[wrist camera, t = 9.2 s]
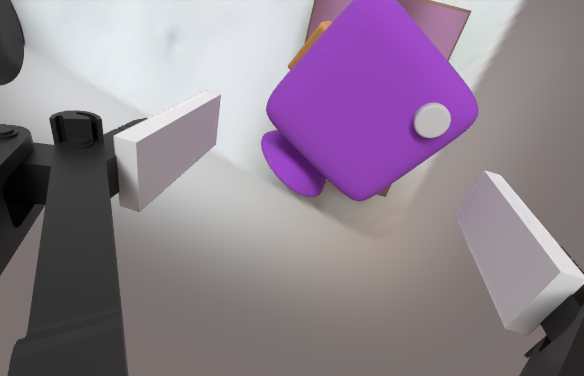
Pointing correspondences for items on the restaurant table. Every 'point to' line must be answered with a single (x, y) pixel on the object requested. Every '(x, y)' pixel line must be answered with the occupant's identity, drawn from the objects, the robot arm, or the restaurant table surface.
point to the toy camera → (364, 104)
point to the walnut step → (427, 14)
